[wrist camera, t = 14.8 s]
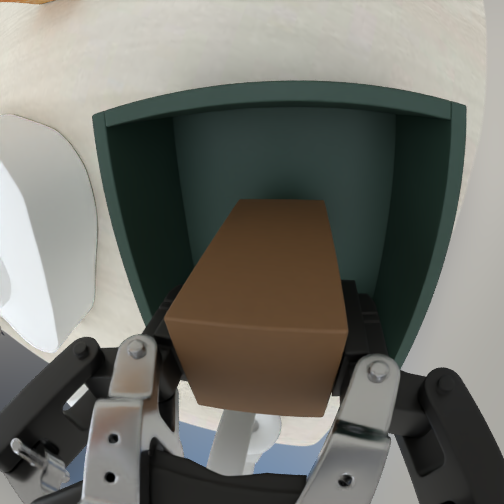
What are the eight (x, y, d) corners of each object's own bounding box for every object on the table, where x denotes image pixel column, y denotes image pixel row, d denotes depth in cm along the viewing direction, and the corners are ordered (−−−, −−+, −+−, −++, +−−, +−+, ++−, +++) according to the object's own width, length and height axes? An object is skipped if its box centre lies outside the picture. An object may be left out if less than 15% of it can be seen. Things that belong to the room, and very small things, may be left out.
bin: (402, 104, 13) (466, 105, 7) (376, 303, 21) (395, 378, 14) (166, 107, 16) (91, 115, 9) (196, 295, 23) (160, 362, 17)
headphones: (230, 409, 33) (195, 534, 16) (219, 318, 24) (139, 532, 7) (281, 416, 32) (258, 546, 15) (298, 327, 23) (265, 563, 6)
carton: (324, 199, 13) (349, 331, 6) (320, 273, 15) (323, 418, 8) (238, 198, 14) (162, 317, 6) (245, 270, 16) (197, 405, 8)
